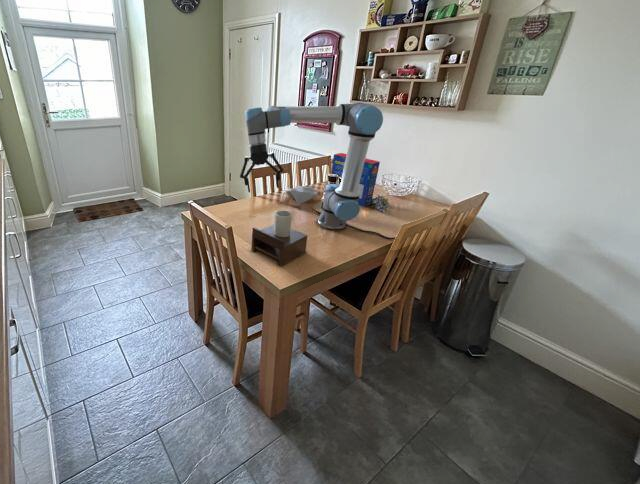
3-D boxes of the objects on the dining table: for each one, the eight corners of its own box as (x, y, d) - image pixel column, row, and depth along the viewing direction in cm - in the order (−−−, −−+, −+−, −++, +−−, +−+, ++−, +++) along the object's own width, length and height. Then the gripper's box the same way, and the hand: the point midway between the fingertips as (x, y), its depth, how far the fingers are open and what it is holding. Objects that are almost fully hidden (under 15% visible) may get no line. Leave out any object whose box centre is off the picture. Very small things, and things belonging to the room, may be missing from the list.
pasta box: (371, 204, 212) (379, 161, 200) (364, 206, 207) (372, 163, 195) (335, 192, 231) (341, 152, 220) (328, 194, 227) (333, 154, 215)
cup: (291, 231, 153) (293, 211, 149) (288, 238, 147) (290, 217, 143) (275, 228, 155) (276, 209, 151) (272, 235, 149) (273, 215, 144)
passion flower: (380, 220, 202) (380, 209, 193) (366, 211, 209) (365, 200, 199) (392, 208, 204) (393, 196, 194) (377, 199, 210) (377, 188, 201)
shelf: (276, 238, 165) (277, 217, 160) (305, 252, 154) (308, 229, 149) (251, 250, 154) (252, 227, 149) (281, 266, 142) (283, 241, 137)
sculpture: (299, 192, 229) (300, 179, 225) (323, 199, 217) (324, 185, 213) (276, 201, 212) (277, 187, 208) (301, 209, 200) (302, 194, 196)
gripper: (283, 139, 151) (288, 184, 158) (230, 147, 151) (237, 191, 158) (286, 140, 144) (291, 187, 150) (230, 148, 144) (237, 195, 151)
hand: (263, 189), depth 154 cm, fingers open, 13 cm apart
